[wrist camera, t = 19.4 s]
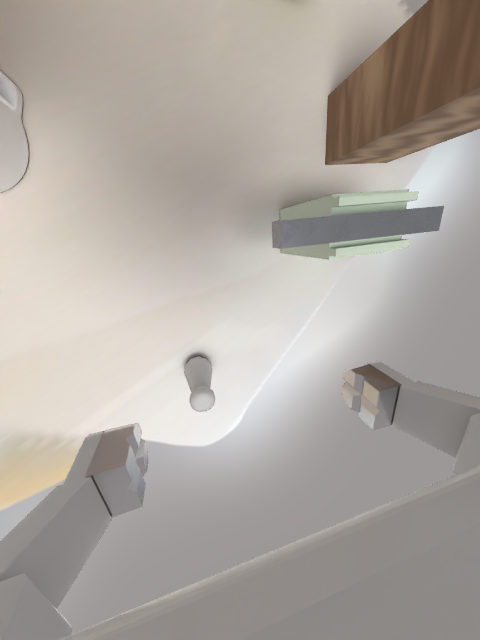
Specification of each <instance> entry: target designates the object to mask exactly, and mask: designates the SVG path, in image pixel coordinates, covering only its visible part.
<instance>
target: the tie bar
mask: <svg viewBox="0 0 480 640" xmlns="http://www.w3.org/2000/svg"><path fill="white" fill-rule="evenodd" d="M443 208H444V206H438V207H427V208H415V209H404V210H393V211H381V212H370V213H358V214H347V215H336V216H324V217H313V218H301V219H290V220H281V221H275V222H272V237H273V248H282V249H284V248H292V247H301V246H310V245H318V244H327V243H335V242H344V241H353V240H361V239H370V238H378V237H387V236H396V235H404V234H412V233H421V232H429V231H438V230H439V227H440V222H441V217H442V213H443Z"/></svg>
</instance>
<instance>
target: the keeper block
mask: <svg viewBox="0 0 480 640" xmlns="http://www.w3.org/2000/svg"><path fill="white" fill-rule="evenodd" d="M417 198H418V191H417V192H409V189H404V190H389V191H375V192H360V193H345V194H332V195H329V196H325V197H322V198H318V199H315V200H311V201H308V202H304V203H301V204H297V205H294V206H291V207H287V208H284V209H280V221H281V220H290V219H301V218H313V217H324V216H336V215H347V214H358V213H370V212H381V211H393V210H404V209H406V205H407V201H413V200H417ZM401 237H402V235H396V236H387V237H378V238H370V239H361V240H353V241H344V242H335V243H327V244H318V245H310V246H301V247H292V248H284V249H282V248H281V253H284V254H292V255H299V256H306V257H314V258H321V259H328V260H330V259H337V258H344V257H352V256H359V255H366V254H373V253H381V252H388V251H396V250H399V249H400V248H404V247H409V243H410V239H405V240H404V239H401Z"/></svg>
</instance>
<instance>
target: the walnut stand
mask: <svg viewBox="0 0 480 640" xmlns="http://www.w3.org/2000/svg"><path fill="white" fill-rule="evenodd" d="M479 128H480V0H429V1H428V2H427V3H426V4H424V5H423V7H421V8H420V9H419V10H418V11H417V12H416V13H415V14H414V15H413V16H412V17H411V18H410V19H409V20H408V21H407V22H406V23H405V24H403V25H402V26H401V27H400V28H399V29H398V30H397V31H396V32H395V33H394V34H393V35H392V36H391V37H390V38H389V39H388V40H387V41H386V42H385V43H384V44H382V45H381V46H380V47H379V48H378V49H377V50H376V51H375V52H374V53H373V54H372V55H371V56H370V57H369V58H368V59H367V60H366V61H365V62H364V63H363V64H361V65H360V66H359V67H358V68H357V69H356V70H355V71H354V72H353V73H352V74H351V75H350V76H349V77H348V78H347V79H346V80H345V81H344V82H343V83H342V84H340V85H339V86H338V87H337V88H336V89H335V90H334V91H333V92H332V93H331V94H330V95H329V96H328V111H327V135H326V159H325V165H335V164H362V163H387V162H390V161H392V160H395V159H398V158H401V157H403V156H406V155H409V154H411V153H414V152H417V151H420V150H422V149H425V148H428V147H431V146H433V145H436V144H439V143H442V142H444V141H447V140H450V139H452V138H455V137H458V136H461V135H463V134H466V133H469V132H472V131H474V130H477V129H479Z"/></svg>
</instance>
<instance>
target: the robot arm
mask: <svg viewBox="0 0 480 640" xmlns="http://www.w3.org/2000/svg"><path fill="white" fill-rule="evenodd" d="M22 107H23V98H22V94H21V91H20V90H19V88H18V87H17V86H16V85H15V84H14V83H13V82H12V81H11V80H10V79H9V78H8V77H6V76H5V75H4V74H3V73H2V72H1V71H0V192H3V191H6V190H8V189H10V188H12V187H13V186H14V185H15V184H17V183H18V182H19V181H20V179H21V178H22V176H23V175H24V173H25V171H26V168H27V164H28V156H29V152H28V143H27V138H26V135H25V131H24V128H23V124H22V119H21V115H22ZM343 379H344V380H345V383H344V385H343V386H342V396H343V399H344V401H345V403H346V404H347V405H348V406H349V407H350V409H352V410H354V411H357V412H359V417H360V418H361V419H362V420H363V421H364V422H365V423H366V424H367V425H368V426H369V427H370V428H371V429H372V430H376V429H379V428H383V427H386V426H389V425H392V426H393V427H395V428H397V429H399V430H401V431H403V432H405V433H407V434H409V435H411V436H413V437H415V438H417V439H419V440H421V441H423V442H425V443H427V444H429V445H431V446H433V447H435V448H437V449H439V450H441V451H443V452H445V453H447V454H449V455H451V456H453V457H455V460H454V463H453V466H452V470H453V472H454V473H455V474H456V475H454V476H451V477H449V478H446V479H444V480H442V481H439V482H437V483H434V484H432V485H430V486H427V487H425V488H422V489H420V490H417V491H415V492H413V493H411V494H408V495H405V496H403V497H401V498H398V499H396V500H393V501H391V502H389V503H386V504H384V505H381V506H379V507H377V508H374V509H372V510H370V511H367V512H364V513H362V514H360V515H357V516H355V517H352V518H350V519H348V520H345V521H343V522H341V523H338V524H336V525H333V526H331V527H328V528H326V529H324V530H321V531H319V532H317V533H314V534H312V535H309V536H307V537H304V538H302V539H300V540H297V541H295V542H292V543H290V544H288V545H285V546H283V547H280V548H278V549H276V550H273V551H271V552H269V553H266V554H264V555H261V556H259V557H256V558H254V559H252V560H249V561H247V562H244V563H242V564H240V565H237V566H235V567H232V568H230V569H228V570H225V571H223V572H220V573H218V574H216V575H213V576H211V577H208V578H206V579H204V580H201V581H199V582H196V583H194V584H192V585H189V586H187V587H184V588H182V589H180V590H177V591H175V592H173V593H170V594H168V595H165V596H163V597H160V598H158V599H156V600H153V601H151V602H149V603H146V604H144V605H141V606H139V607H136V608H134V609H132V610H129V611H127V612H125V613H122V614H120V615H117V616H115V617H112V618H110V619H108V620H105V621H103V622H100V623H98V624H96V625H93V626H91V627H88V628H86V629H83V630H81V631H79V632H76V633H74V634H71V632H72V627H71V625H70V624H69V622H68V621H67V620H66V619H65V618H64V616H63V615H62V614H61V613H60V612H59V611H58V610H57V608H58V606H59V605H60V603H61V601H62V600H63V598H64V596H65V595H66V593H67V591H68V590H69V588H70V587H71V585H72V584H73V582H74V580H75V579H76V577H77V575H78V574H79V572H80V571H81V569H82V567H83V566H84V564H85V563H86V561H87V559H88V558H89V556H90V554H91V553H92V551H93V550H94V548H95V546H96V545H97V543H98V542H99V540H100V538H101V537H102V535H103V533H104V532H105V530H106V529H107V527H108V525H109V524H110V522H111V521H112V517H115V516H117V515H120V514H123V513H126V512H128V511H131V510H134V509H137V508H140V507H142V505H143V498H144V490H145V482H144V479H143V476H144V474H145V473H146V472H147V467H148V450H147V446H146V442H145V440H143V439H141V433H142V431H141V428H140V425H139V424H138V423H135V424H130V425H126V426H122V427H118V428H113V429H109V430H106V431H102V432H97V433H93V434H89V435H88V436H87V437H86V438H85V439H84V441H83V444H82V446H81V448H80V450H79V452H78V454H77V456H76V458H75V461H74V463H73V465H72V467H71V469H70V471H69V473H68V475H67V477H66V480H65V482H64V484H63V485H60V486H57V487H56V488H55V489H54V490H53V491H52V492H51V493H50V494H49V495H48V496H47V497H46V498H45V499H44V500H43V501H42V502H40V503H39V504H38V505H37V507H35V508H34V509H33V510H32V511H31V512H30V513H29V514H28V515H27V516H26V517H25V518H24V519H23V520H22V521H21V522H20V523H19V524H18V525H17V526H16V527H15V528H14V529H13V530H12V531H11V532H9V533H8V534H7V535H6V537H4V538H3V539H2V540H1V541H0V640H480V397H477V396H472V395H469V394H465V393H461V392H457V391H453V390H450V389H446V388H442V387H438V386H434V385H430V384H427V383H422V382H419V381H417V382H414V381H412V380H410V379H409V378H407V377H405V376H404V375H402V374H400V373H399V372H397V371H395V370H394V369H392V368H390V367H389V366H387V365H385V364H384V363H382V362H379V361H375V362H371V363H367V364H365V365H361V366H357V367H353V368H350V369H346V370H345V371H344V373H343Z"/></svg>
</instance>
